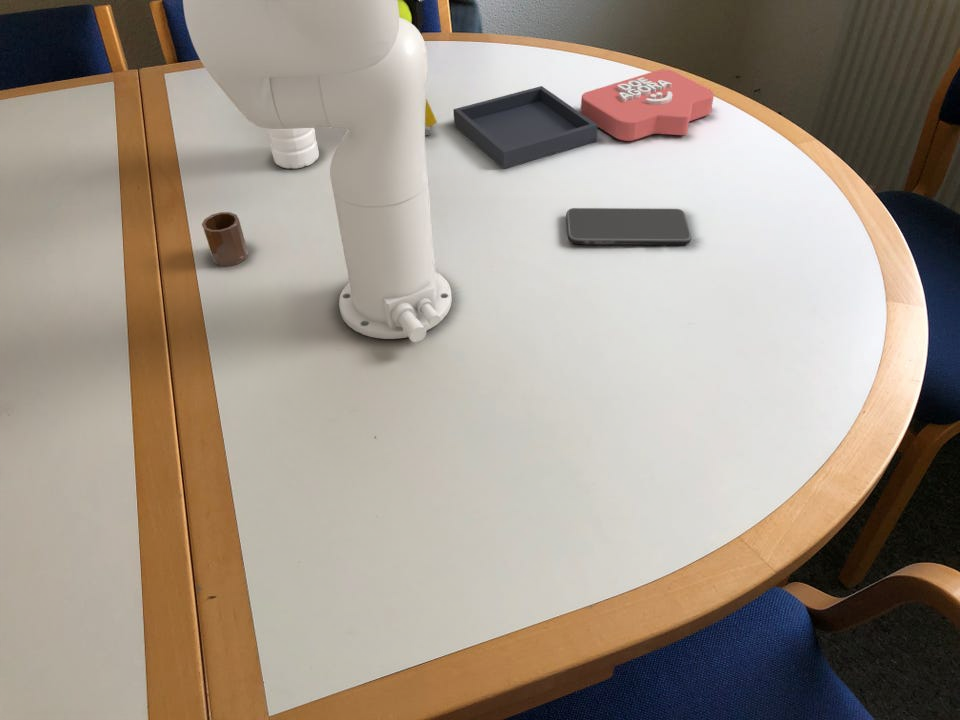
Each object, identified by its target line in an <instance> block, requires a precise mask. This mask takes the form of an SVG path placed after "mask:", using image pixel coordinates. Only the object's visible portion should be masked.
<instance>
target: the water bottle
mask: <svg viewBox="0 0 960 720" xmlns="http://www.w3.org/2000/svg"><path fill="white" fill-rule="evenodd" d="M266 130H267V133H268V139H269V143H270V148H271V153H272V157H273V162H274V163H275V164H276V165H277V166H280V167H281V168H284V169H292V170H293V169H301V168H304V167H308V166H311V165H312V164H314V163H315V162H316V161H317V160H318V159H319V156H320V151H319V146H318V141H317V139H316V136H317V135H316V131H315V128H296V129H267V128H266Z"/></svg>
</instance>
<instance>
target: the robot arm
mask: <svg viewBox="0 0 960 720" xmlns="http://www.w3.org/2000/svg"><path fill="white" fill-rule="evenodd" d="M403 1H404V2H405V3H406V4H407V5H408V7H409V9H410V11H411V15H412V23H410V22H408V21H407V20H405V19H403V18H400V17H399V8H398V1H397V0H182V6H183V14H184V20H185V25H186V28H187V31H188V35H189V37H190V40H191V44H192V46H193V48H194V50H195V53H196V55H197V56H198V59H199V60H200V62H201V64H202V65H203V67H204V68H205V70H206V71H207V73H208V74H209V75H210V77H211V78H212V79H213V81H214V82H215V83H216V84H217V85H218V87H219V88H220V89H221V90H222V92H223V93H224V94H225V95H226V96H227V98H228V99H229V100H230V101H231V103H232V104H233V105H234V106H235V107H236V109H237V110H238V111H239V112H240V113H241V114H242V115H243V117H244V118H245V119H246V120H247V121H249V123H251V124H253V125H255V126H257V127H259V128H263V129H266V130H267V129H296V128H314V129H319V128H321V129H322V128H332V129H347V131H346V132H345V133H344V134H343V137H341V139H340V141H339V143H338V145H337V146H336V148H335V149H334V152H333V155H332V157H331V162H330V169H329V173H330V174H329V175H330V182H331V188H332V193H333V199H334V205H335V210H336V216H337V221H338V227H339V233H340V237H341V243H342V249H343V254H344V260H345V261H344V262H345V264H346V271H347V277H348V283H346V284H345V285H344V287H343V289H342V290H341V292H340V295H339V298H338V299H339V300H338V307H339V311H340V315H341V318H342V320H343V321H344V322H345V323H346V325H347V326H348V327H349V328H351V329H352V330H353V331H355V332H357V333H359V334H361V335H363V336H367V337H371V338H375V339H382V340H398V339H405V338H408V339H409V340H410V341H411V342H412V343H420V342H422V340H424V339H425V338H426V336H427V331H429V330H430V329H433V328H434V327H436V326H437V325H439V324H440V323H441V322H442V321H443V320H444V319H445V317H446V316H447V315H448V314H449V311H450V309H451V307H452V301H453V299H452V298H453V297H452V289H451V286H450V284H449V282H448V281H447V279H446V278H445V277H444V276H443V275H442V274H441V273H439V272H437V271H436V263H435V262H436V259H435V250H434V249H435V248H434V247H435V246H434V236H433V226H432V211H431V202H430V200H431V199H430V191H429V188H430V187H429V178H428V176H429V175H428V165H427V164H428V163H427V151H426V149H427V148H426V135H425V107H426V99H427V93H428V80H429V79H428V78H429V59H428V51H427V46H426V42H425V40H424V37H423V29H422V26H423V25H424V11H423V1H424V0H403Z"/></svg>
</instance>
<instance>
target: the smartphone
mask: <svg viewBox="0 0 960 720" xmlns="http://www.w3.org/2000/svg"><path fill="white" fill-rule="evenodd" d="M565 215H566V216H565V217H566V225H567V226H566V227H567V239H568V241H569V242H570V243H572V244H574V245H658V246H659V245H661V246H662V245H664V246H665V245H669V246H670V245H673V246H674V245H679V246H680V245H682V246H684V245H688V244H690V242H691V240H692V234H691V231H690V227H689V223H688V219H687V217H686V213H685V211H684V210H683V209H680V208H630V207H629V208H628V207H627V208H623V207H622V208H621V207H620V208H618V207H617V208H616V207H615V208H614V207H613V208H612V207H611V208H605V207H604V208H603V207H572V208H569V209H568V210H567V211H566V214H565Z"/></svg>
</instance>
